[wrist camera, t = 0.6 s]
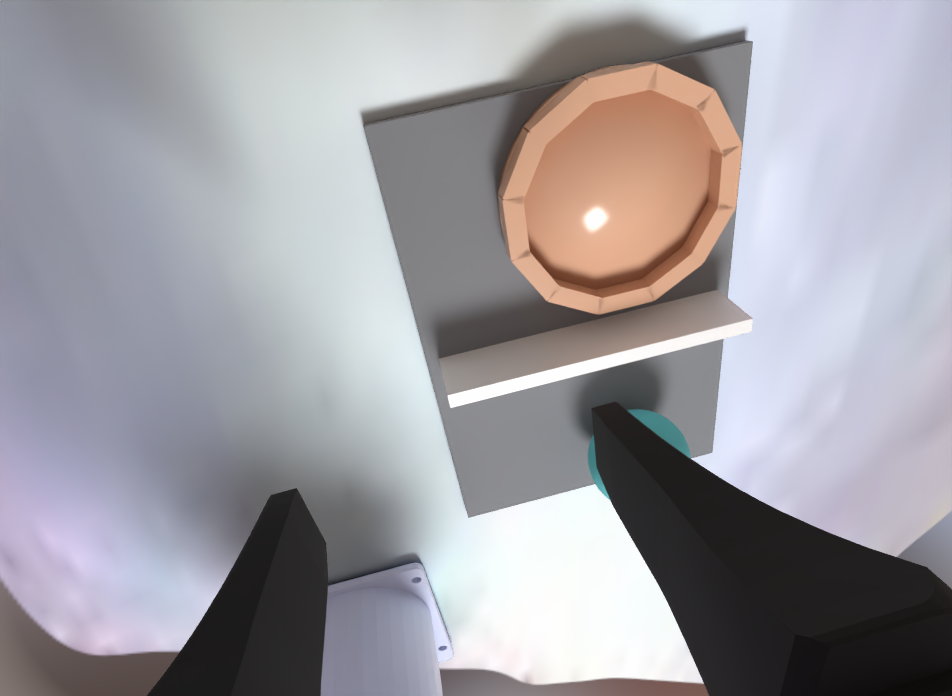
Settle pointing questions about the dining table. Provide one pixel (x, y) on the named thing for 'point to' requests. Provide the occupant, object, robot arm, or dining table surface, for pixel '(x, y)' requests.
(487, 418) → the mat
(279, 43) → the dining table surface
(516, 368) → the wall
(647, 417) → the ball
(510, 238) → the saucer
